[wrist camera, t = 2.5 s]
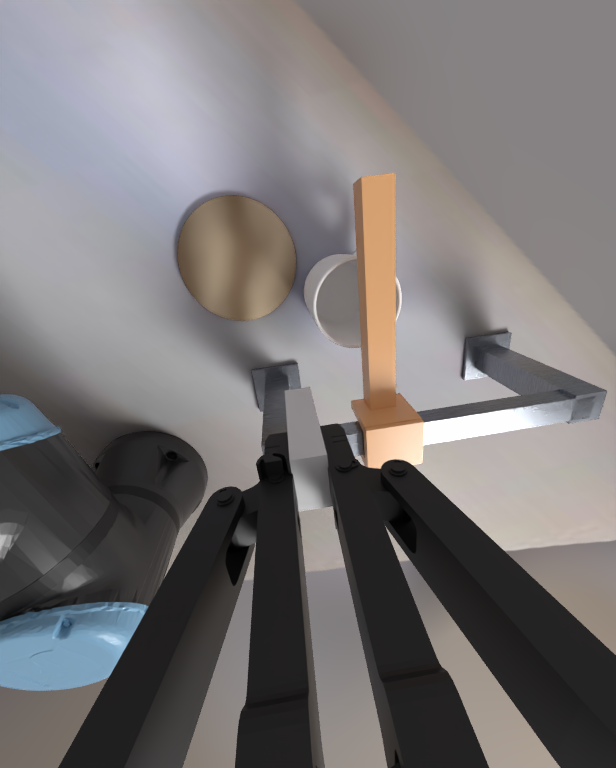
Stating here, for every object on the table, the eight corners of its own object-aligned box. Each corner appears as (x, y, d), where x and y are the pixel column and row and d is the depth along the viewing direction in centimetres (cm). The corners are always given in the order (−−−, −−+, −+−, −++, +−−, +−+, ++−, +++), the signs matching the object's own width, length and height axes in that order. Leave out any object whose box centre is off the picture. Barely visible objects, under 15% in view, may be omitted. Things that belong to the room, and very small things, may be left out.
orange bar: (353, 439, 33) (368, 473, 28) (336, 185, 23) (353, 168, 18) (399, 431, 33) (422, 464, 28) (400, 177, 24) (435, 158, 19)
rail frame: (260, 409, 43) (254, 488, 29) (251, 369, 40) (240, 434, 26) (502, 372, 45) (609, 429, 30) (508, 331, 42) (627, 373, 28)
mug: (338, 206, 34) (364, 190, 25) (399, 244, 36) (444, 242, 27) (291, 306, 38) (297, 325, 28) (348, 335, 40) (372, 361, 31)
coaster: (196, 326, 38) (195, 327, 37) (163, 204, 32) (161, 203, 32) (302, 311, 38) (302, 312, 38) (287, 189, 33) (287, 188, 32)
